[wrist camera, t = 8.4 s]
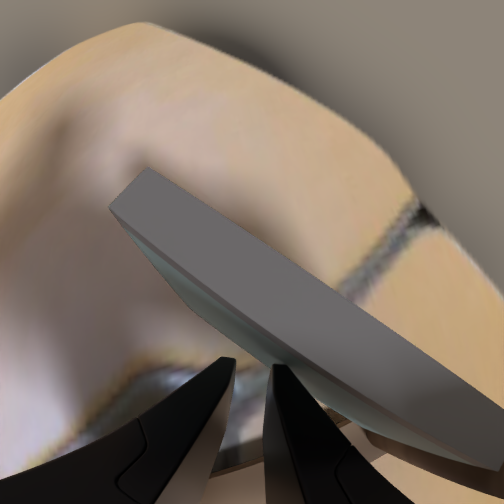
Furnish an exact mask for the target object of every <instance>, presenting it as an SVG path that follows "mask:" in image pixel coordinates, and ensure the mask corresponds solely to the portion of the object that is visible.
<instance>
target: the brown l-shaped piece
mask: <svg viewBox="0 0 504 504" xmlns="http://www.w3.org/2000/svg"><path fill="white" fill-rule="evenodd" d="M336 426H337V427H338V428H339V429H340V430H341V432H342V433H343V434H344V435H345V436H346V437H347V439H348V440H349V441H350V442H351V443H352V445H354V446H355V447H356V448H357V450H358V451H359V452H360V453H361V454H362V455H363V456H364V457H365V459H366V460H367V461H368V462H369V463H370V462H372V461H374V460H376V459H377V458H379V457H381V456H383V455H384V454H386V453H389V454H391V455H393V456H395V457H397V458H399V459H401V460H403V461H406V462H408V463H410V464H412V465H414V466H417V467H419V468H421V469H423V470H426V471H428V472H430V473H433V474H435V475H437V476H440V477H442V478H445V479H447V480H450V481H452V482H455V483H458V484H460V485H463V486H466V487H468V488H471V489H474V490H477V491H480V492H482V493H485V494H488V495H491V496H495V497H498V498H501V499H504V462H503V464H502V466H501V467H500V469H499V471H498V472H497V471H493V470H489V469H485V468H481V467H477V466H473V465H469V464H466V463H462V462H459V461H455V460H452V459H448V458H445V457H442V456H439V455H436V454H433V453H429V452H426V451H423V450H420V449H418V448H415V447H412V446H409V445H406V444H403V443H401V442H398V441H395V440H393V439H390V438H387V437H385V436H382V435H380V434H377V433H375V432H372V431H370V430H367V429H365V428H362V427H361V426H359V425H357V424H356V423H354V422H352V421H351V420H349V419H346V420H344V421H342V422H340V423H338V424H336ZM352 445H351V446H352ZM199 504H266V495H265V475H264V456H262V457H260V458H257V459H254V460H251V461H248V462H246V463H243V464H240V465H237V466H233V467H230V468H227V469H224V470H220V471H217V472H214V473H210V476H209V479H208V482H207V484H206V487H205V490H204V493H203V495H202V498H201V501H200V503H199Z"/></svg>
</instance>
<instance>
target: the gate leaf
mask: <svg viewBox="0 0 504 504" xmlns="http://www.w3.org/2000/svg"><path fill="white" fill-rule="evenodd" d="M108 208H109V209H110V211H111V212H112V213H113V215H114V216H115V217H116V219H117V220H118V221H119V223H120V224H121V225H122V227H123V228H124V229H125V230H126V232H127V233H128V234H129V236H130V237H131V238H132V239H133V241H134V242H135V243H136V245H137V246H138V247H139V248H140V250H141V251H142V252H143V253H144V255H145V256H146V257H147V258H148V259H149V261H150V262H151V263H152V264H153V266H154V267H155V268H156V269H157V270H158V272H159V273H160V274H161V275H162V276H163V278H164V279H165V280H166V281H167V282H168V284H169V285H170V286H171V287H172V288H173V289H174V291H175V292H176V293H177V294H178V295H179V296H180V298H181V299H182V300H183V301H184V302H185V303H186V304H187V306H188V307H189V308H190V309H191V310H193V311H194V312H195V313H196V314H198V315H199V316H200V317H201V318H203V319H204V320H205V321H207V322H208V323H209V324H211V325H212V326H213V327H214V328H216V329H217V330H218V331H220V332H221V333H222V334H224V335H225V336H226V337H228V338H229V339H230V340H232V341H233V342H234V343H236V344H237V345H238V346H240V347H241V348H243V349H244V350H245V351H247V352H248V353H249V354H251V355H252V356H254V357H255V358H256V359H258V360H259V361H261V362H262V363H263V364H265V365H266V366H268V367H269V368H271V366H272V364H274V363H276V364H285V365H287V366H288V367H289V368H290V369H291V370H292V372H293V373H294V374H295V375H296V377H297V378H298V379H299V380H300V382H301V383H302V384H303V385H304V387H305V388H306V389H307V390H308V392H309V393H310V394H311V395H312V396H313V397H314V398H315V399H317V400H319V401H320V402H322V403H323V404H325V405H326V406H328V407H330V408H331V409H333V410H334V411H336V412H338V413H339V414H341V415H342V416H344V417H346V418H347V419H349V420H351V421H352V422H354V423H356V424H357V425H359V426H361V427H362V428H365V429H367V430H370V431H372V432H375V433H377V434H380V435H382V436H385V437H387V438H390V439H393V440H395V441H398V442H401V443H403V444H406V445H409V446H412V447H415V448H418V449H420V450H423V451H426V452H429V453H433V454H436V455H439V456H442V457H445V458H448V459H452V460H455V461H459V462H462V463H466V464H469V465H473V466H477V467H481V468H485V469H489V470H493V471H497V472H498V471H499V469H500V467H501V466H502V464H503V462H504V409H503V408H501V407H500V406H499V405H497V404H496V403H494V402H493V401H492V400H490V399H489V398H488V397H486V396H485V395H483V394H482V393H481V392H479V391H478V390H476V389H475V388H474V387H472V386H471V385H469V384H468V383H467V382H465V381H464V380H462V379H461V378H460V377H458V376H457V375H455V374H454V373H453V372H451V371H450V370H448V369H447V368H446V367H444V366H443V365H441V364H440V363H439V362H437V361H436V360H434V359H433V358H431V357H430V356H429V355H427V354H426V353H424V352H423V351H422V350H420V349H419V348H417V347H416V346H414V345H413V344H412V343H410V342H409V341H407V340H406V339H404V338H403V337H401V336H400V335H399V334H397V333H396V332H394V331H393V330H391V329H390V328H389V327H387V326H386V325H384V324H383V323H381V322H380V321H378V320H377V319H376V318H374V317H373V316H371V315H370V314H368V313H367V312H365V311H364V310H363V309H361V308H360V307H358V306H357V305H355V304H354V303H352V302H351V301H349V300H348V299H347V298H345V297H344V296H342V295H341V294H339V293H338V292H336V291H335V290H333V289H332V288H330V287H329V286H327V285H326V284H325V283H323V282H322V281H320V280H319V279H317V278H316V277H314V276H313V275H311V274H310V273H308V272H307V271H305V270H304V269H302V268H301V267H299V266H298V265H297V264H295V263H294V262H292V261H291V260H289V259H288V258H286V257H285V256H283V255H282V254H280V253H279V252H277V251H276V250H274V249H273V248H271V247H270V246H268V245H267V244H265V243H264V242H262V241H261V240H259V239H258V238H256V237H255V236H253V235H252V234H250V233H249V232H247V231H246V230H244V229H243V228H241V227H240V226H238V225H237V224H235V223H234V222H232V221H231V220H229V219H228V218H226V217H225V216H223V215H222V214H220V213H219V212H217V211H216V210H214V209H213V208H211V207H209V206H208V205H206V204H205V203H203V202H202V201H200V200H199V199H197V198H196V197H194V196H193V195H191V194H190V193H188V192H187V191H185V190H184V189H182V188H181V187H179V186H177V185H176V184H174V183H173V182H171V181H170V180H168V179H167V178H165V177H164V176H162V175H161V174H159V173H157V172H156V171H154V170H153V169H151V168H150V167H147V168H146V169H145V170H144V171H143V172H142V173H141V174H139V175H138V176H137V177H136V178H135V179H134V180H133V181H132V182H131V183H130V184H129V185H128V186H127V188H126V189H125V190H124V191H123V192H122V193H121V194H120V195H119V196H118V197H117V198H116V199H115V200H114V201H113V202H112V203H111V204H110V205H109V206H108Z"/></svg>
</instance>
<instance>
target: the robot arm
mask: <svg viewBox="0 0 504 504" xmlns="http://www.w3.org/2000/svg"><path fill="white" fill-rule="evenodd" d="M235 371H236V359H235V358H229V357H220V358H219V359H217V360H216V361H215V362H213V363H212V364H211V365H209V366H208V367H207V368H205V369H204V370H203V371H201V372H200V373H199V374H197V375H196V376H194V377H193V378H192V379H190V380H189V381H188V382H186V383H185V384H183V385H182V386H181V387H179V388H178V389H176V390H175V391H174V392H172V393H171V394H169V395H168V396H166V397H165V398H164V399H162V400H161V401H159V402H158V403H156V404H155V405H153V406H152V407H151V408H149V409H148V410H146V411H145V412H143V413H142V414H140V415H139V416H138V418H137V417H135V418H133V419H132V420H130V421H129V422H127V423H126V424H124V425H123V426H121V427H119V428H118V429H116V430H114V431H113V432H111V433H109V434H108V435H106V436H104V437H102V438H100V439H98V440H96V441H94V442H92V443H90V444H88V445H86V446H84V447H81V448H79V449H77V450H75V451H73V452H70V453H68V454H66V455H63V456H61V457H59V458H56V459H54V460H51V461H49V462H46V463H44V464H42V465H39V466H36V467H34V468H31V469H29V470H26V471H23V472H21V473H18V474H15V475H12V476H10V477H7V478H4V479H1V480H0V504H199V503H200V501H201V498H202V495H203V493H204V490H205V487H206V484H207V482H208V479H209V476H210V473H211V471H212V468H213V465H214V462H215V460H216V457H217V454H218V451H219V448H220V446H221V443H222V440H223V437H224V434H225V431H226V427H227V422H228V417H229V411H230V405H231V400H232V394H233V389H234V382H235ZM351 445H352V443H351V442H350V441H349V440H348V439H347V437H346V436H345V435H344V434H343V433H342V432H341V430H340V429H339V428H338V427H337V426H336V424H335V423H334V422H333V421H332V420H331V418H330V417H329V416H328V415H327V414H326V412H325V411H324V410H323V409H322V407H321V406H320V405H319V404H318V403H317V401H316V400H315V399H314V398H313V396H312V395H311V394H310V393H309V392H308V390H307V389H306V388H305V387H304V385H303V384H302V383H301V382H300V380H299V379H298V378H297V377H296V375H295V374H294V373H293V372H292V370H291V369H290V368H289V367H288V366H287V365H285V364H276V363H274V364H272V366H271V370H270V375H269V381H268V386H267V394H266V404H265V414H264V424H263V455H264V475H265V495H266V504H415V503H413V502H412V501H411V500H410V499H409V498H407V497H406V496H405V495H404V494H403V493H401V492H400V491H399V490H398V489H397V488H396V487H394V486H393V485H392V484H391V483H390V482H389V481H388V480H387V479H385V478H384V477H383V476H382V475H381V474H380V473H379V472H378V471H377V470H376V469H375V468H374V467H373V466H372V465H371V464H370V463H369V462H368V461H367V460H366V459H365V457H364V456H363V455H362V454H361V453H360V452H359V451H358V450H357V448H356V447H355V446H354V445H352V446H351Z"/></svg>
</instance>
